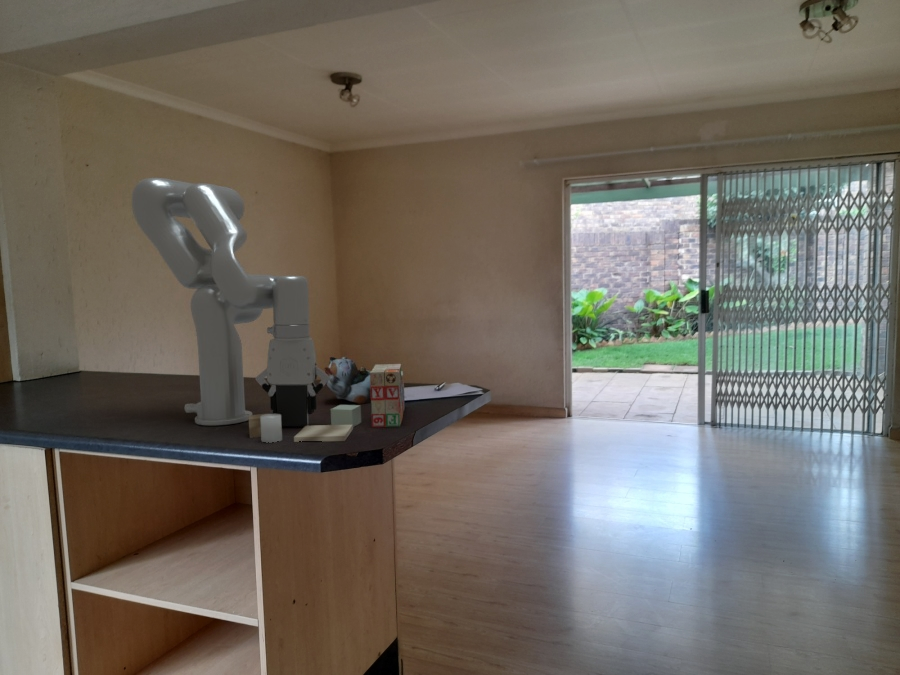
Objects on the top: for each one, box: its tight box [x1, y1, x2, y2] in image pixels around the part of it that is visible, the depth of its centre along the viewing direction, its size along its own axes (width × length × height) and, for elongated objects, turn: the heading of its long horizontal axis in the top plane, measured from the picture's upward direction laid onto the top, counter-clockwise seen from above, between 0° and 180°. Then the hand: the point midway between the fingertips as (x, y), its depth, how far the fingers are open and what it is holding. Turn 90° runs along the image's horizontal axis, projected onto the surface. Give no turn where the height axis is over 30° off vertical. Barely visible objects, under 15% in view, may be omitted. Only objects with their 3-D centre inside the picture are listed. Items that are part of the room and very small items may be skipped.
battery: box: [276, 385, 310, 427], centre depth 135 cm, size 7×4×11 cm, turn 89°
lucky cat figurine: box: [323, 356, 372, 405], centre depth 165 cm, size 15×12×14 cm
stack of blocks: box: [370, 363, 406, 428], centre depth 143 cm, size 21×6×12 cm, turn 2°
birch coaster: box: [293, 424, 354, 443], centre depth 126 cm, size 10×10×1 cm
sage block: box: [330, 404, 362, 428], centre depth 136 cm, size 5×5×4 cm
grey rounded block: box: [260, 413, 283, 444], centre depth 123 cm, size 4×4×5 cm
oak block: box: [248, 413, 267, 439], centre depth 128 cm, size 4×4×4 cm
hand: (293, 412), depth 135 cm, fingers closed on battery, 7 cm apart
